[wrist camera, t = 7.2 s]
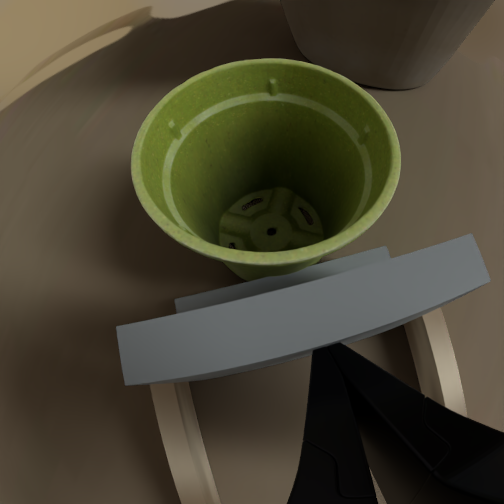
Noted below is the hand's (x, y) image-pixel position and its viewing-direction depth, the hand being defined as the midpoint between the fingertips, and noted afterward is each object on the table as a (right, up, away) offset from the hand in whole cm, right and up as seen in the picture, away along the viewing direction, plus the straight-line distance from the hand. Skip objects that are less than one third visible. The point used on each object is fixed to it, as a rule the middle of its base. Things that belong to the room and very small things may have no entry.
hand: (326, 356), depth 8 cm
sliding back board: (0, -1, +7) cm, 7 cm away
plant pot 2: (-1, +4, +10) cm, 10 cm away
